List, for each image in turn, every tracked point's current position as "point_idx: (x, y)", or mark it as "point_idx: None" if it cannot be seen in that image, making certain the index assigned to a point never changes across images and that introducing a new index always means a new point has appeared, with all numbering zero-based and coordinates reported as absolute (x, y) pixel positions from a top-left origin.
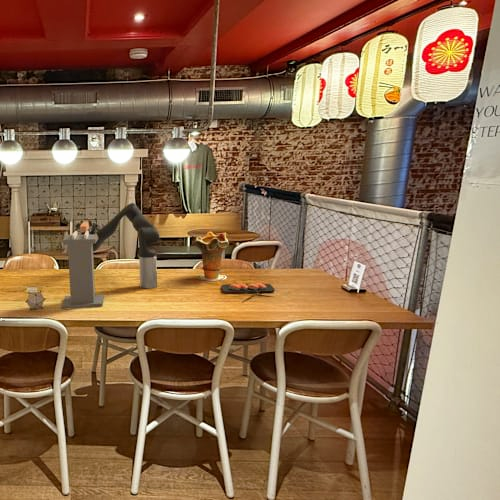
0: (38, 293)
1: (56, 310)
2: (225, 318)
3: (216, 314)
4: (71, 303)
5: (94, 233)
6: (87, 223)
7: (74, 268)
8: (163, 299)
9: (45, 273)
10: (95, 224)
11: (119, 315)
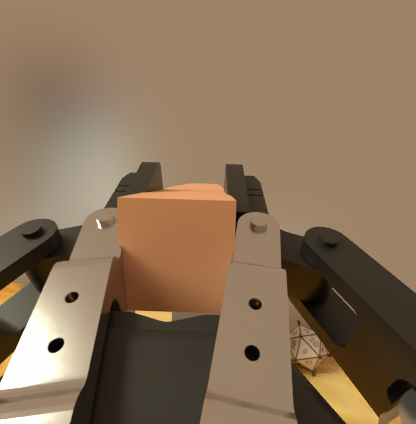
0: (299, 331)
1: None
2: (14, 287)
3: (8, 295)
4: None
5: None
6: (178, 186)
7: None
8: (7, 361)
9: None
10: (3, 259)
11: (142, 314)
